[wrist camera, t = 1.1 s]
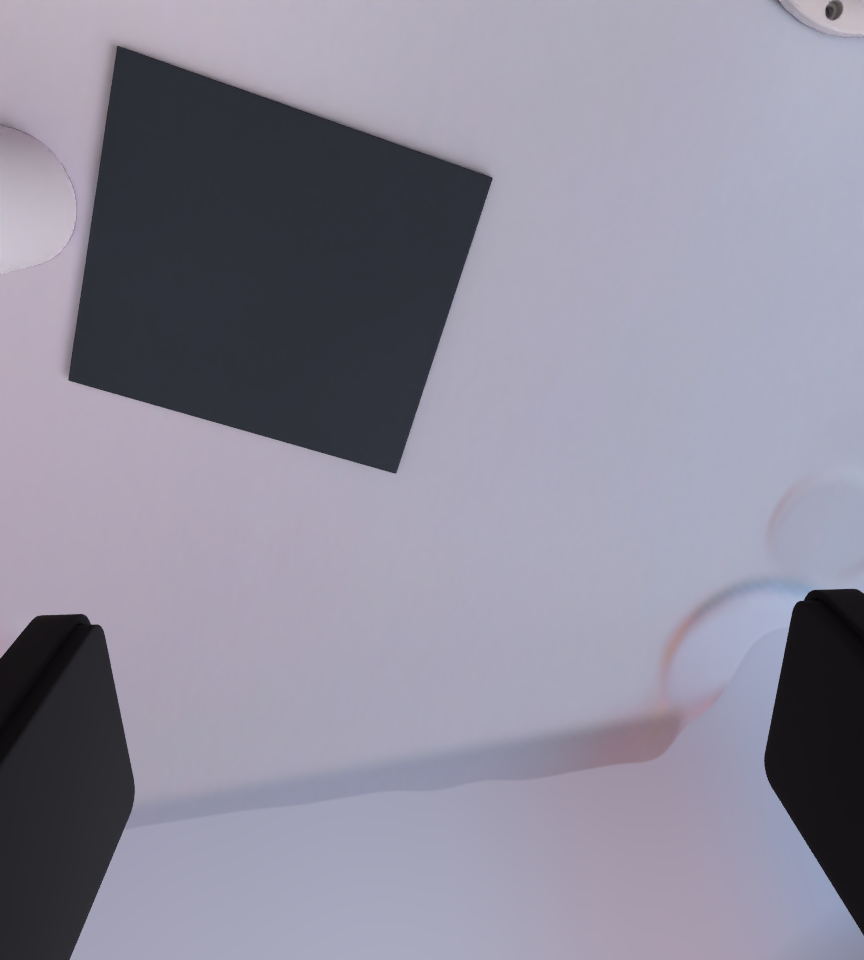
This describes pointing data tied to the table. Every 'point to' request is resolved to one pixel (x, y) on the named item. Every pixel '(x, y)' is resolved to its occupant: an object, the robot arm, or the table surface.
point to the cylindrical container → (32, 202)
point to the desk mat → (267, 264)
